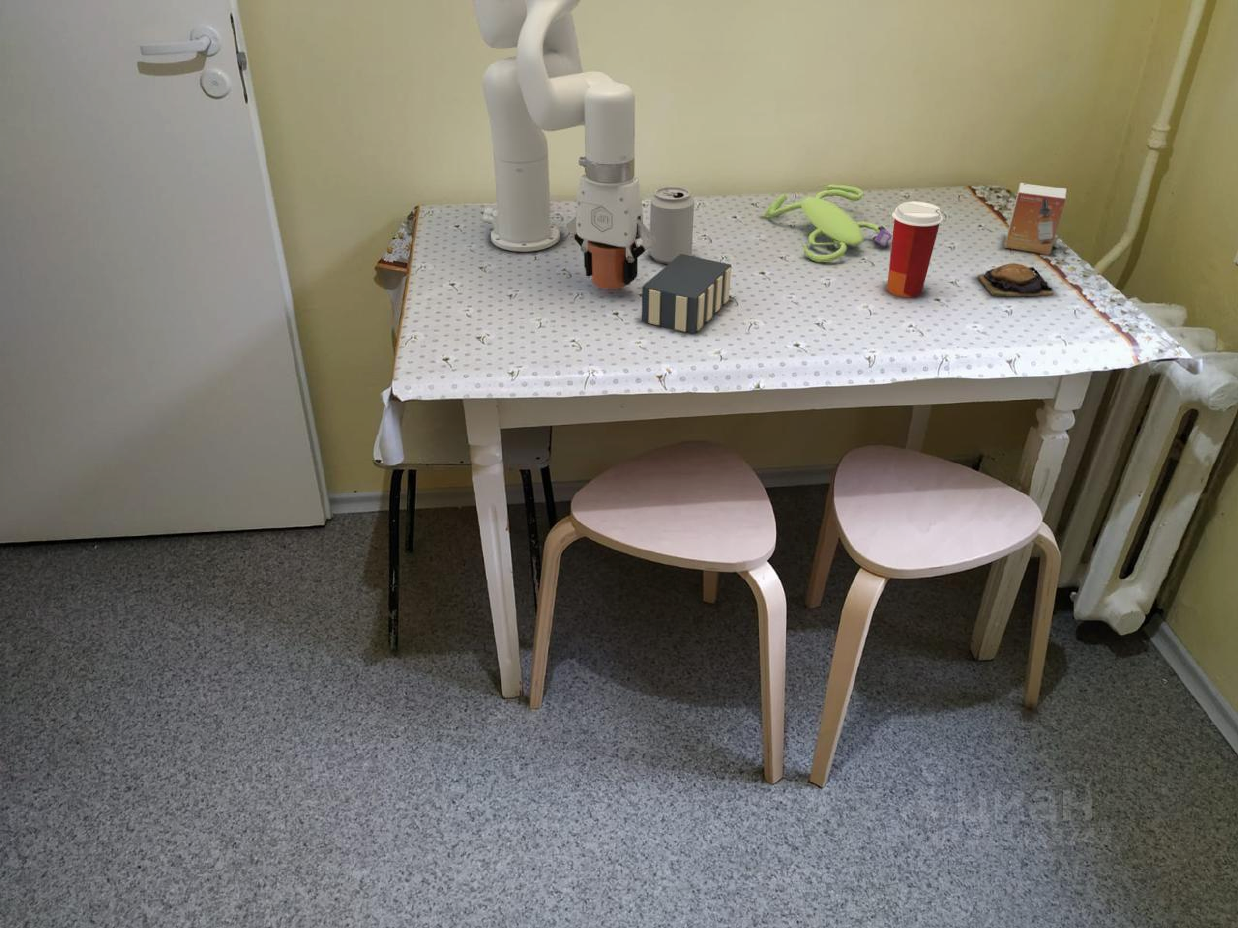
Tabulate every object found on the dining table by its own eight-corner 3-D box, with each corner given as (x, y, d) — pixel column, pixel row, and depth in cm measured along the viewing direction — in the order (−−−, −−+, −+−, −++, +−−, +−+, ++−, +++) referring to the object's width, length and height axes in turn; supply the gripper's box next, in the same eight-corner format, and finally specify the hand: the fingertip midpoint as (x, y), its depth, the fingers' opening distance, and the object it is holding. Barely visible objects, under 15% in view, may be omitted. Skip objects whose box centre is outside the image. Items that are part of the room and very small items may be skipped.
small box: (1003, 248, 179) (1017, 192, 173) (1006, 237, 183) (1019, 181, 177) (1050, 255, 176) (1066, 198, 170) (1052, 244, 181) (1067, 187, 174)
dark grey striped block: (640, 322, 155) (641, 287, 151) (678, 287, 165) (680, 253, 162) (695, 335, 151) (696, 299, 148) (730, 299, 162) (733, 264, 158)
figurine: (846, 204, 197) (850, 176, 194) (909, 257, 176) (914, 227, 172) (758, 212, 193) (761, 183, 190) (811, 267, 172) (815, 236, 169)
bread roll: (992, 299, 162) (996, 278, 160) (974, 277, 169) (979, 256, 167) (1055, 297, 163) (1061, 276, 160) (1036, 275, 169) (1041, 255, 167)
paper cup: (930, 284, 166) (946, 203, 158) (926, 303, 161) (942, 220, 152) (882, 277, 169) (896, 197, 160) (877, 296, 163) (890, 214, 155)
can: (688, 267, 172) (691, 200, 165) (645, 264, 173) (647, 197, 166) (694, 250, 178) (697, 185, 171) (653, 247, 179) (654, 182, 172)
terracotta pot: (580, 285, 162) (579, 244, 158) (601, 268, 167) (601, 228, 163) (620, 294, 159) (620, 253, 155) (640, 277, 164) (641, 236, 160)
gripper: (549, 168, 153) (553, 276, 163) (649, 185, 146) (648, 297, 157) (573, 154, 158) (576, 259, 169) (671, 170, 152) (668, 279, 162)
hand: (610, 276), depth 162 cm, fingers closed on terracotta pot, 6 cm apart
